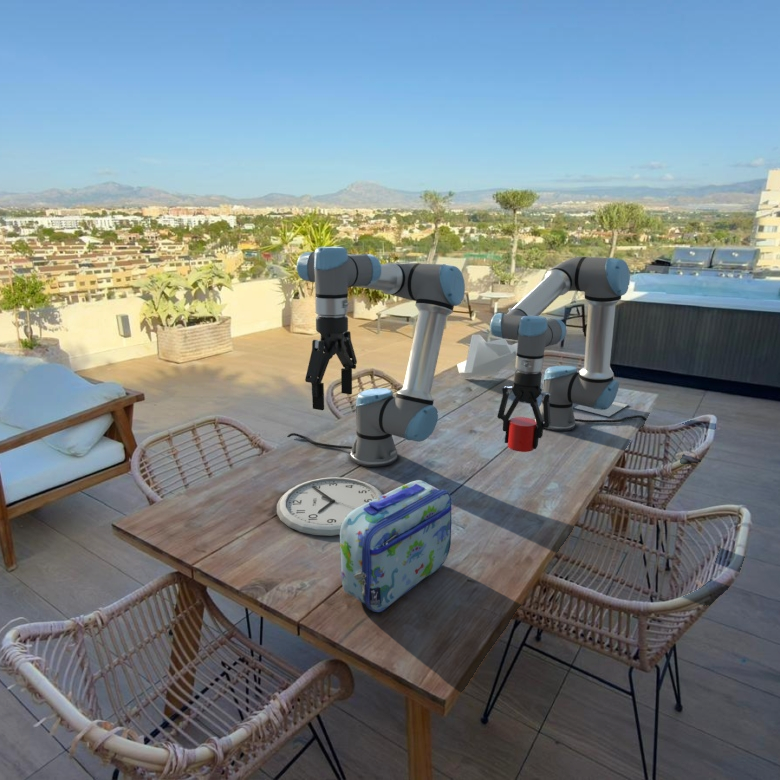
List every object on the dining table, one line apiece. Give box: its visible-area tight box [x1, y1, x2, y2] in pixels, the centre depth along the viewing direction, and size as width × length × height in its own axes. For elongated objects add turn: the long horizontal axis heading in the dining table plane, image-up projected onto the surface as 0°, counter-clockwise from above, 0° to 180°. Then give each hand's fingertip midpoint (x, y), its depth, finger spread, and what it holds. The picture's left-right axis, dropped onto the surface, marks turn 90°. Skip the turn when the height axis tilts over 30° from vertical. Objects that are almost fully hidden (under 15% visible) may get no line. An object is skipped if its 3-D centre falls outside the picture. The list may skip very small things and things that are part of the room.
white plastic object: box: [456, 307, 544, 389], centre depth 256 cm, size 37×45×31 cm
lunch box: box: [339, 479, 452, 613], centre depth 109 cm, size 26×11×21 cm, turn 134°
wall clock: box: [276, 476, 385, 537], centre depth 142 cm, size 30×2×30 cm
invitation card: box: [573, 400, 629, 418], centre depth 226 cm, size 21×1×15 cm
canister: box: [507, 416, 537, 453], centre depth 155 cm, size 8×8×8 cm
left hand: (333, 401), depth 129 cm, fingers open, 13 cm apart
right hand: (521, 444), depth 156 cm, fingers closed on canister, 8 cm apart
